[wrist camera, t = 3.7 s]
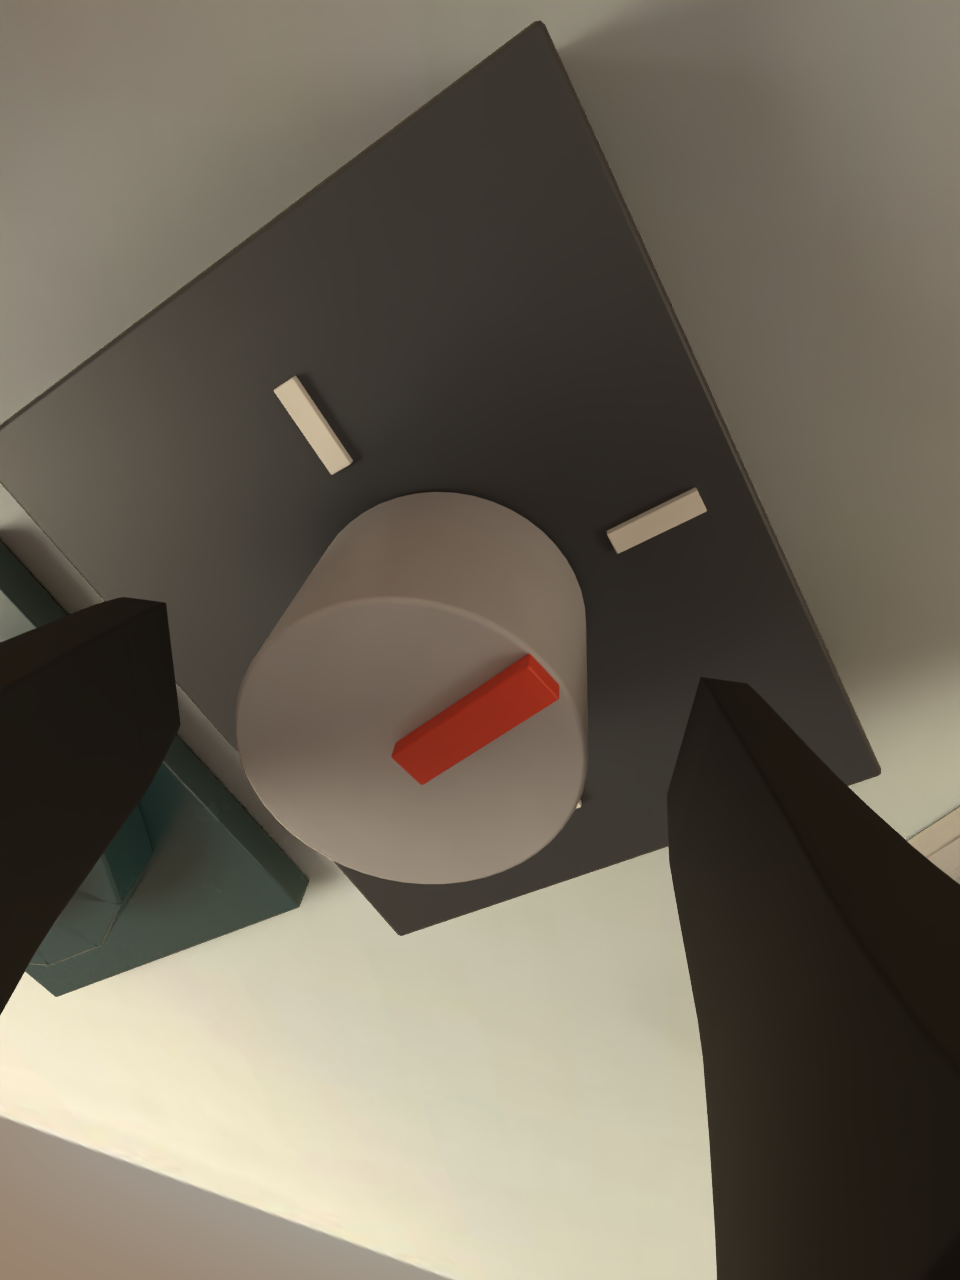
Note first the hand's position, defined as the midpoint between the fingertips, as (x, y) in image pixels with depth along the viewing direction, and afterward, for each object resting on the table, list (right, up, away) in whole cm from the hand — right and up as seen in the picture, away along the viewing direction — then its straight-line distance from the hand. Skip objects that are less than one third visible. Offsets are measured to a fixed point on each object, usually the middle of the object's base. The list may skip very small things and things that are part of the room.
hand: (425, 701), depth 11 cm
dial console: (+1, +3, +5) cm, 5 cm away
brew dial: (0, +1, +2) cm, 2 cm away
